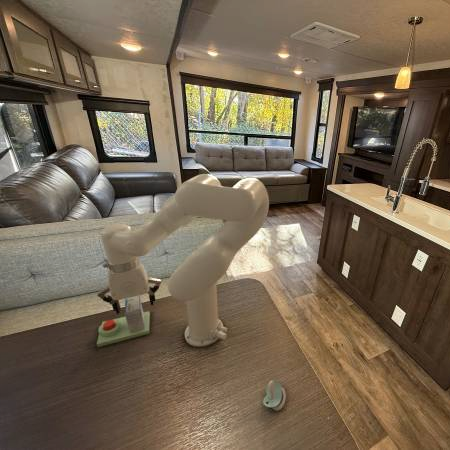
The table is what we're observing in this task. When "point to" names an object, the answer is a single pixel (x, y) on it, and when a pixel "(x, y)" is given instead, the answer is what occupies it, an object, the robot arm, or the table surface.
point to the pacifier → (274, 395)
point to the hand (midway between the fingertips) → (136, 306)
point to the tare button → (109, 325)
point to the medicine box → (134, 314)
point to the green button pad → (121, 331)
